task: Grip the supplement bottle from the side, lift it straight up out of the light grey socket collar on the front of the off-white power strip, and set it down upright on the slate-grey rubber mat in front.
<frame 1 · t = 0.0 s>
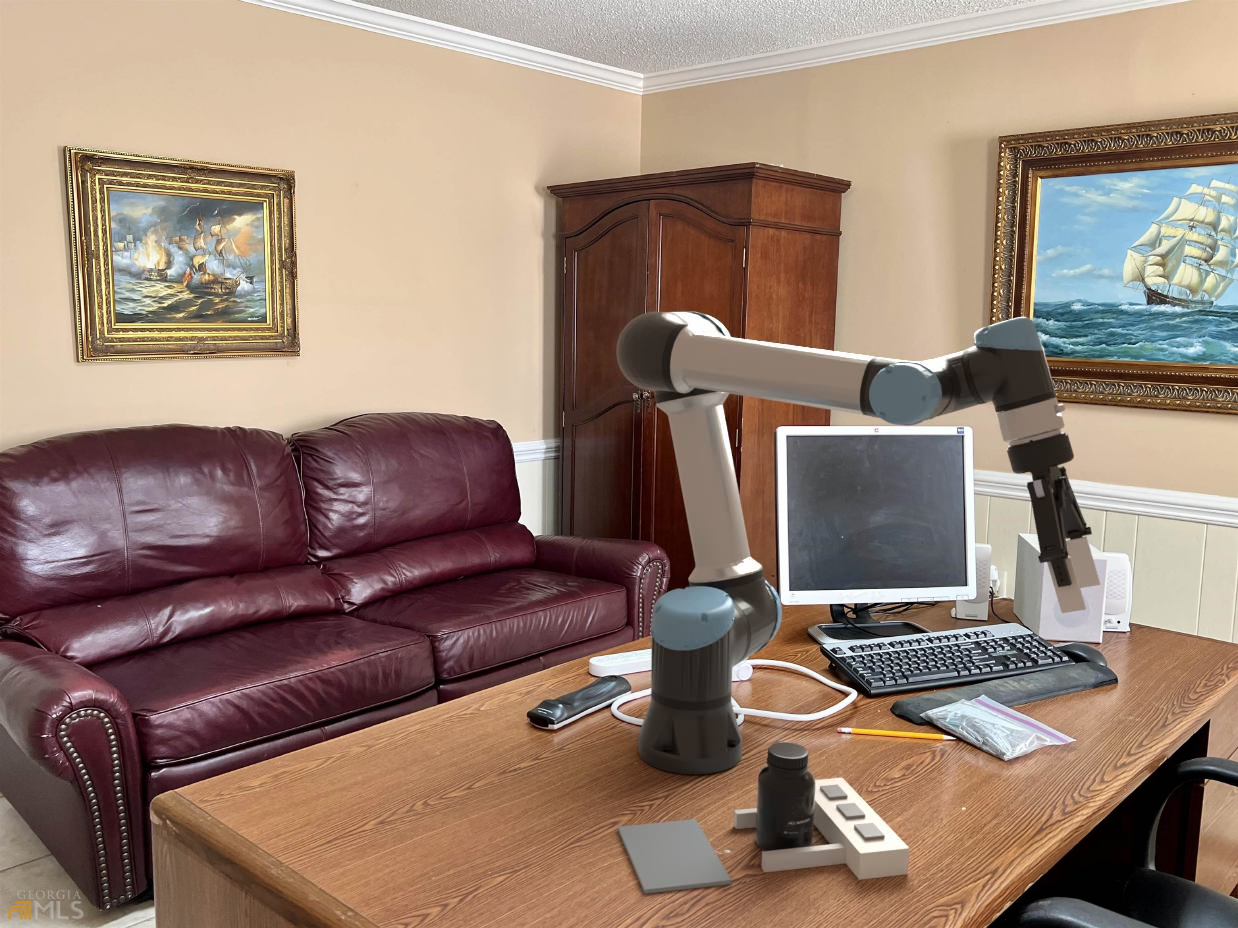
hand: (1081, 598, 128), 28 cm above the table, tool tilted 20°, fingers open, 13 cm apart
rubber mat: (671, 855, 118), on the table
supplement bottle: (783, 845, 121), on the table
power strip dock: (784, 843, 121), on the table
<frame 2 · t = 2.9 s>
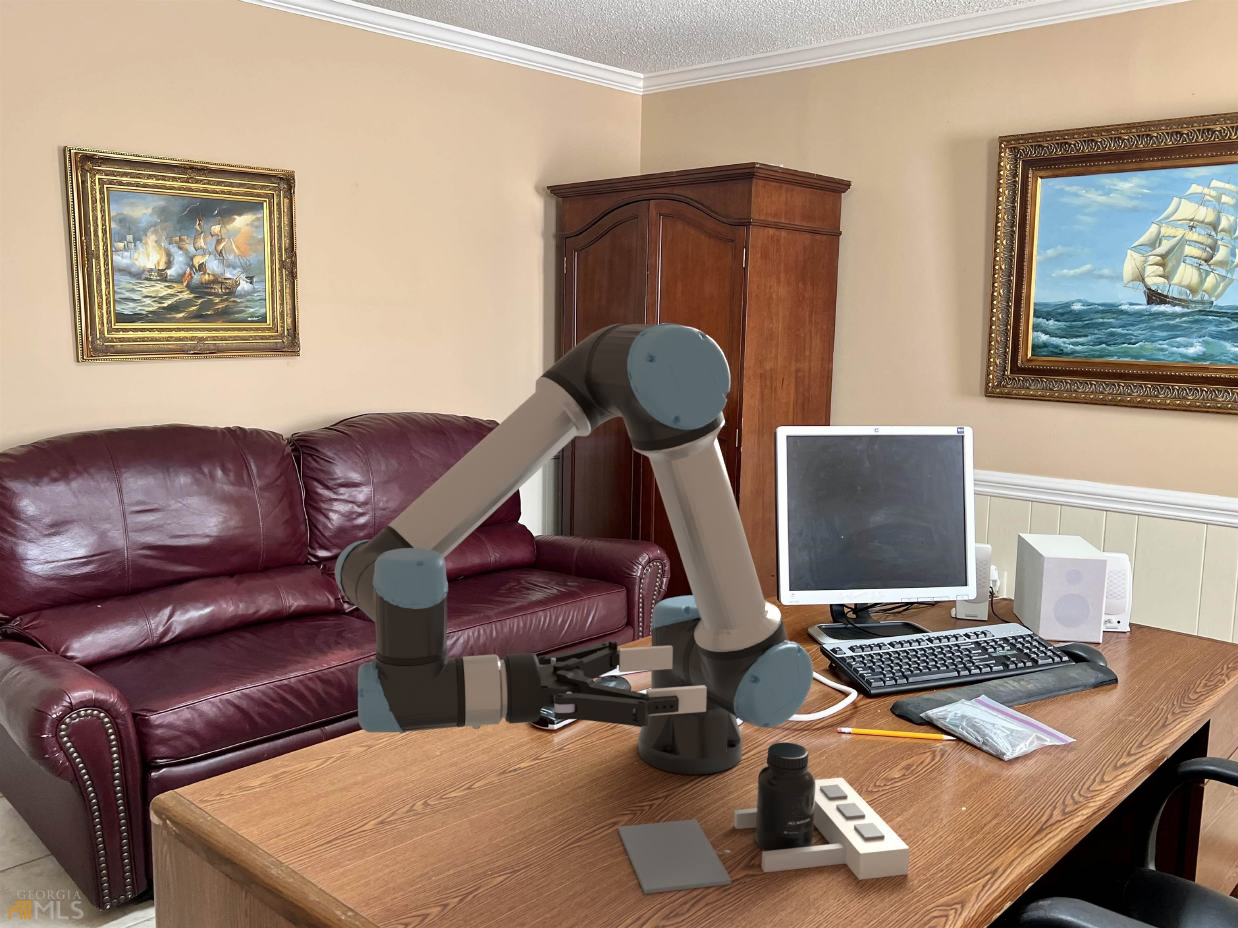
hand: (688, 676, 115), 22 cm above the table, tool horizontal, fingers open, 13 cm apart
nothing on the table moved.
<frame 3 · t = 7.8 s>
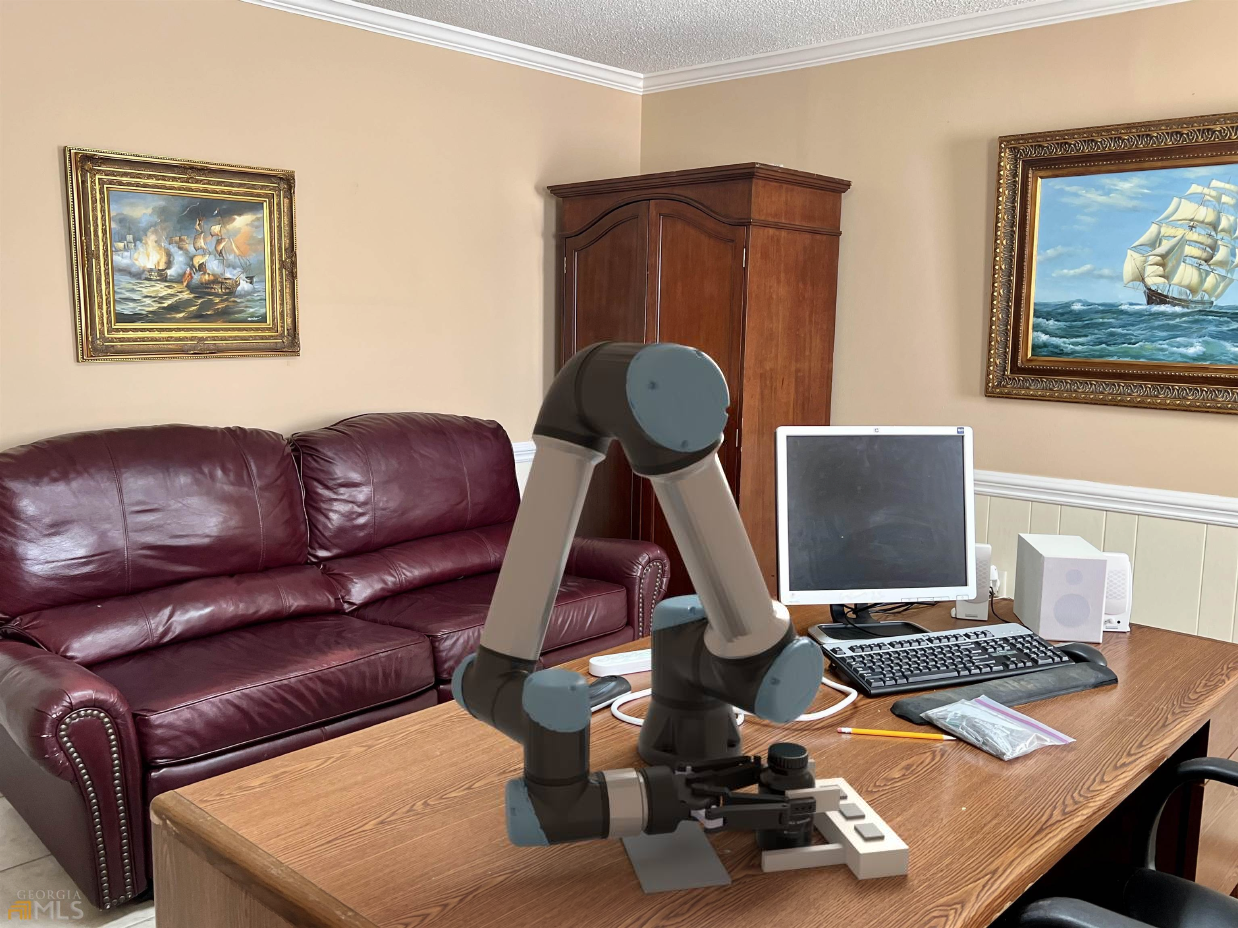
hand: (825, 783, 121), 7 cm above the table, tool horizontal, fingers closed on supplement bottle, 7 cm apart
supplement bottle: (784, 845, 121), on the table, touching gripper
when the fingers open (9 cm above the table, at t = 12.8 s): supplement bottle drops 1 cm, resting on rubber mat.
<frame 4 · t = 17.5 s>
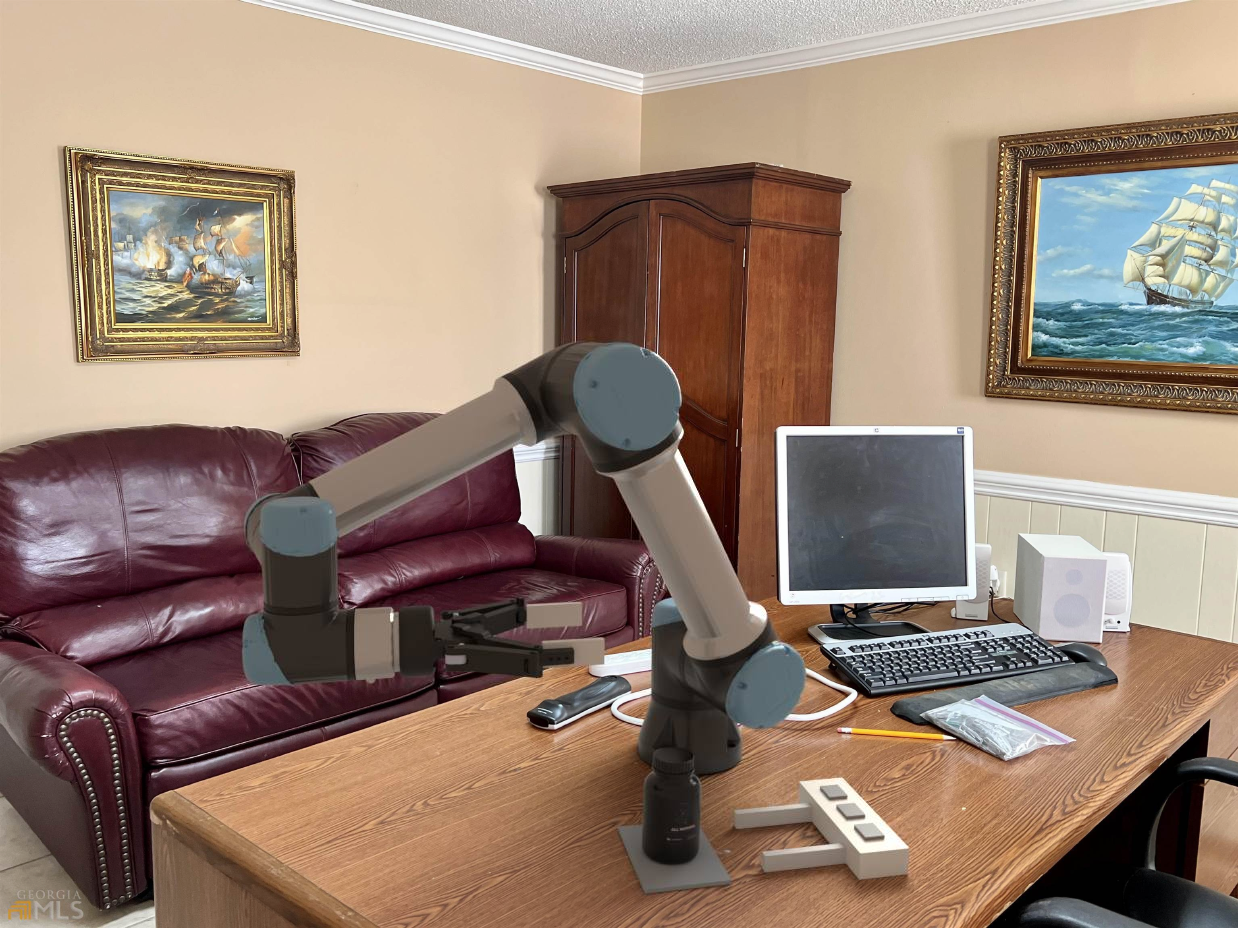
hand: (592, 631, 112), 28 cm above the table, tool horizontal, fingers open, 13 cm apart
supplement bottle: (670, 852, 118), resting on rubber mat
at the end: supplement bottle inside the target area (0.2 cm from its centre), resting on rubber mat; supplement bottle tilted 0°; the gripper is holding nothing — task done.
